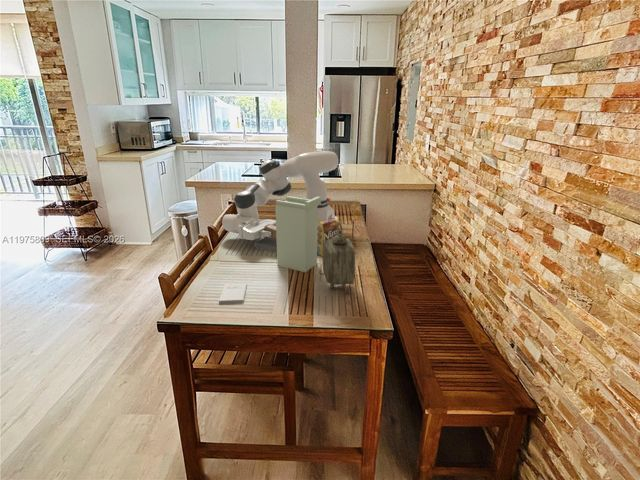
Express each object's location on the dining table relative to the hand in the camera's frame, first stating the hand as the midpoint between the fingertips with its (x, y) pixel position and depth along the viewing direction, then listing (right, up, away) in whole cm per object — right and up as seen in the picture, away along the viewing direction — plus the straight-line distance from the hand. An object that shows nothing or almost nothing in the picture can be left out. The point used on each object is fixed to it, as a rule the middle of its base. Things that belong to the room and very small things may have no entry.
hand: (275, 232), depth 168 cm
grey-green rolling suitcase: (+27, -21, -32) cm, 47 cm away
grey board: (+5, -8, +1) cm, 10 cm away
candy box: (+24, -10, -1) cm, 26 cm away
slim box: (+5, -4, -1) cm, 7 cm away
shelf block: (+11, -14, -13) cm, 22 cm away
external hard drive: (-10, -23, -36) cm, 45 cm away
